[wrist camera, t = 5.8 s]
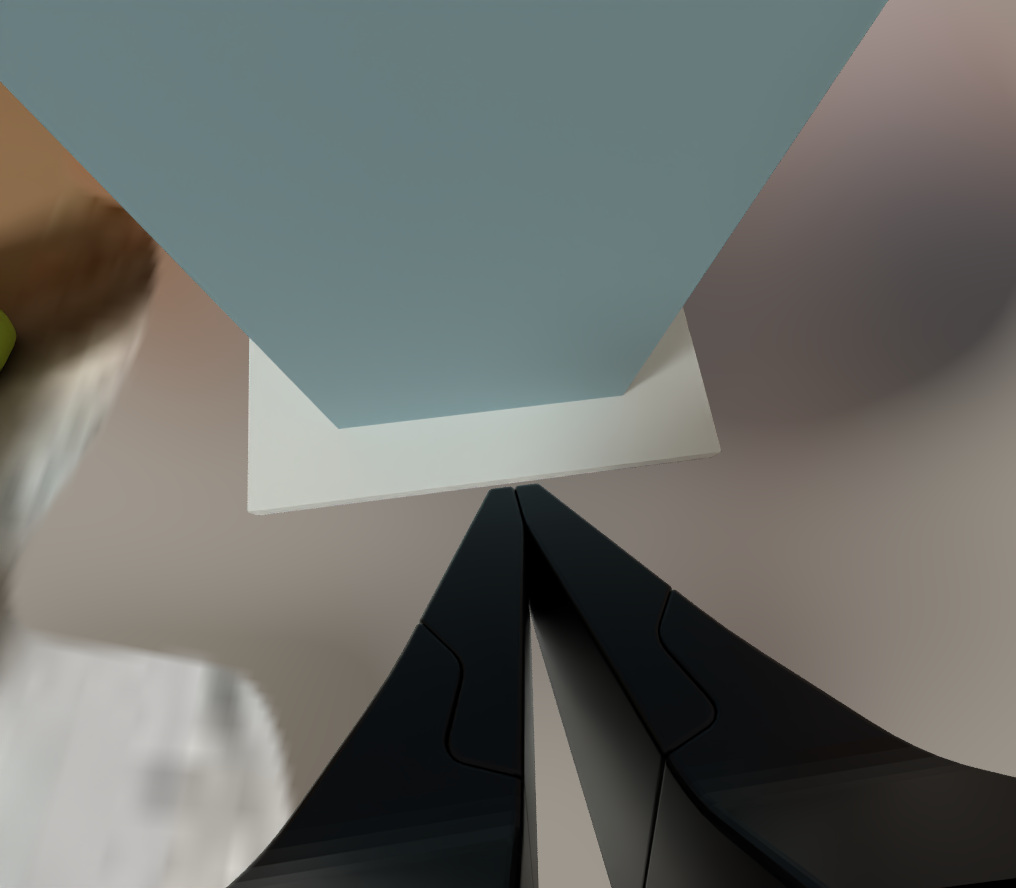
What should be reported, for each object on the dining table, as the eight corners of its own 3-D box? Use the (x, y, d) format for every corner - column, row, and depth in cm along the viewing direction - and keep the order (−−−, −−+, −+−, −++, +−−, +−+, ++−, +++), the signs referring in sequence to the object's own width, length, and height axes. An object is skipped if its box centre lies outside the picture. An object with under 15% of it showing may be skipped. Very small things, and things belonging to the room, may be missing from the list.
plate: (711, 457, 18) (721, 451, 17) (258, 515, 17) (247, 511, 16) (621, 110, 22) (626, 93, 22) (260, 139, 21) (251, 122, 21)
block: (622, 395, 18) (942, -82, 5) (338, 429, 17) (-102, -25, 4) (578, 190, 20) (720, -468, 8) (329, 212, 19) (30, -469, 7)
